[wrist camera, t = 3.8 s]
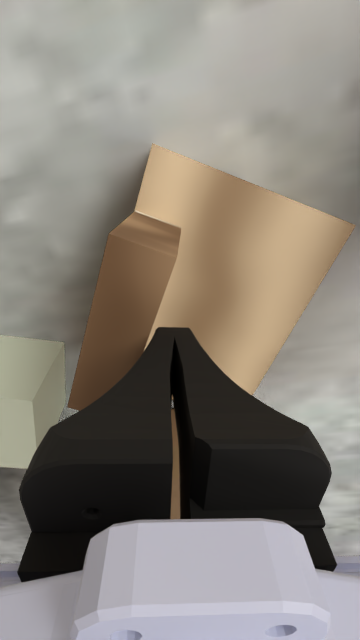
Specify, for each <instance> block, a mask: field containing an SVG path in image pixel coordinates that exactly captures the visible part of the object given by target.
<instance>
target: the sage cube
mask: <svg viewBox="0 0 360 640" xmlns="http://www.w3.org/2000/svg"><path fill="white" fill-rule="evenodd" d="M65 404H66V400H65V346H64V342H57V341H48V340H40V339H31V338H23V337H14V336H5V335H0V467H8V468H22V469H28V466H29V464H30V462H31V459H32V457H33V455H34V453H35V451H36V450H37V448H38V446H39V445H40V443H41V441H42V440H43V438H44V436H45V435H46V433H47V432H48V430H49V428H50V427H52V426H54V425H56V424H57V423H58V421H59V418H60V416H61V413H62V411H63V409H64V406H65Z"/></svg>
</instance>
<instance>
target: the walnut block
mask: <svg viewBox="0 0 360 640" xmlns="http://www.w3.org/2000/svg"><path fill="white" fill-rule="evenodd" d="M181 228H182V227H179V226H176V225H174V224H171V223H168V222H166V221H163V220H160V219H157V218H155V217H152V216H149V215H147V214H144V213H141V212H139V211H134V212H133V213H132V214H131V215H130V216H129V217H127V218H126V219H125V220H124V221H123V222H122V223H120V224H119V225H118V226H117V227H116V228H115V229H113V230H112V231H111V232H110V233H109V235H108V239H107V243H106V247H105V251H104V255H103V260H102V264H101V268H100V272H99V276H98V281H97V285H96V289H95V293H94V297H93V302H92V306H91V310H90V314H89V318H88V322H87V327H86V331H85V335H84V339H83V343H82V348H81V352H80V356H79V360H78V364H77V368H76V373H75V377H74V381H73V385H72V389H71V394H70V398H69V402H68V406H67V407H68V408H72V409H76V410H79V411H81V410H82V409H84V408H85V407H87V406H88V405H90V404H91V403H93V402H94V401H96V400H97V399H99V398H100V397H101V396H102V395H104V394H105V393H106V392H107V391H108V390H110V389H111V388H112V387H113V386H114V385H115V384H116V383H117V382H118V381H120V379H121V378H122V377H123V376H124V375H125V374H126V373H127V372H128V371H129V370H130V369H131V368H132V367H133V365H134V364H135V363H136V361H137V360H138V359H139V358H140V356H141V355H142V354H143V352H144V349H145V346H146V343H147V341H148V338H149V335H150V332H151V329H152V327H153V324H154V321H155V318H156V315H157V313H158V310H159V307H160V304H161V301H162V299H163V296H164V293H165V290H166V287H167V285H168V282H169V279H170V276H171V273H172V271H173V268H174V265H175V262H176V259H177V255H178V248H179V242H180V235H181Z"/></svg>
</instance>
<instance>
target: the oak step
mask: <svg viewBox="0 0 360 640" xmlns="http://www.w3.org/2000/svg"><path fill="white" fill-rule="evenodd" d="M134 211H139V212H141V213H144V214H147V215H149V216H152V217H155V218H157V219H160V220H163V221H166V222H168V223H171V224H174V225H176V226H179V227H182V228H181V235H180V242H179V248H178V255H177V259H176V262H175V265H174V268H173V271H172V273H171V276H170V279H169V282H168V285H167V287H166V290H165V293H164V296H163V299H162V301H161V304H160V307H159V310H158V313H157V315H156V318H155V321H154V324H153V327H152V329H151V332H150V335H149V338H148V341H147V343H146V346H145V349H146V347H147V346H148V344H149V343H150V341H151V339H152V337H153V335H154V333H155V330H156V329H157V328H158V327H189V328H190V329H191V330H192V332H193V334H194V336H195V337H196V339H197V340H198V342H199V343H200V345H201V346H202V348H203V349H204V350H205V351H206V353H207V354H208V355H209V357H210V358H211V359H212V360H213V361H214V363H215V364H216V365H217V366H218V367H219V368H220V369H221V370H222V371H223V372H224V373H225V374H226V375H227V376H228V377H229V378H230V379H231V380H232V381H234V382H235V383H236V384H237V385H238V386H240V387H241V388H242V389H244V390H245V391H246V392H248V393H249V394H250V395H253V393H254V392H255V390H256V389H257V387H258V385H259V384H260V382H261V380H262V379H263V377H264V375H265V374H266V372H267V370H268V369H269V367H270V366H271V364H272V362H273V361H274V359H275V357H276V356H277V354H278V352H279V351H280V349H281V347H282V346H283V344H284V343H285V341H286V339H287V338H288V336H289V334H290V333H291V331H292V329H293V328H294V326H295V325H296V323H297V321H298V320H299V318H300V316H301V315H302V313H303V311H304V310H305V308H306V306H307V305H308V303H309V302H310V300H311V298H312V297H313V295H314V293H315V292H316V290H317V288H318V287H319V285H320V283H321V282H322V280H323V279H324V277H325V275H326V274H327V272H328V270H329V269H330V267H331V265H332V264H333V262H334V260H335V259H336V257H337V256H338V254H339V252H340V251H341V249H342V247H343V246H344V244H345V242H346V241H347V239H348V237H349V236H350V234H351V233H352V231H353V229H354V228H355V226H356V225H354V224H351V223H349V222H346V221H344V220H341V219H339V218H336V217H334V216H332V215H329V214H327V213H324V212H322V211H319V210H317V209H314V208H312V207H309V206H307V205H304V204H302V203H299V202H297V201H294V200H292V199H289V198H287V197H284V196H282V195H279V194H277V193H274V192H272V191H269V190H267V189H264V188H262V187H260V186H257V185H255V184H252V183H250V182H247V181H245V180H242V179H240V178H237V177H235V176H232V175H230V174H227V173H225V172H222V171H220V170H217V169H215V168H212V167H210V166H207V165H205V164H202V163H200V162H197V161H195V160H192V159H190V158H188V157H185V156H183V155H180V154H178V153H175V152H173V151H170V150H168V149H165V148H163V147H160V146H158V145H155V144H153V143H152V147H151V151H150V154H149V158H148V162H147V166H146V169H145V173H144V177H143V180H142V184H141V188H140V192H139V195H138V199H137V203H136V206H135V210H134ZM145 349H144V350H145ZM172 400H173V395H172Z"/></svg>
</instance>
